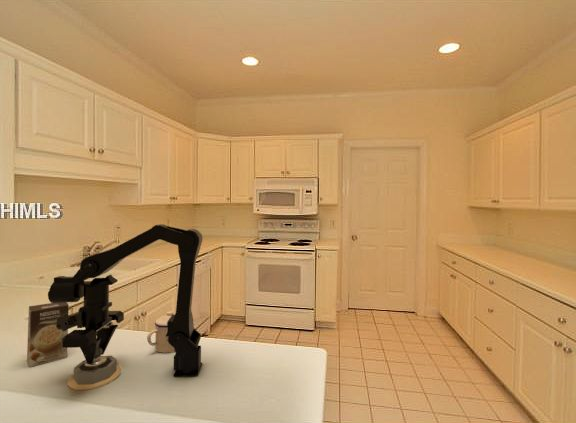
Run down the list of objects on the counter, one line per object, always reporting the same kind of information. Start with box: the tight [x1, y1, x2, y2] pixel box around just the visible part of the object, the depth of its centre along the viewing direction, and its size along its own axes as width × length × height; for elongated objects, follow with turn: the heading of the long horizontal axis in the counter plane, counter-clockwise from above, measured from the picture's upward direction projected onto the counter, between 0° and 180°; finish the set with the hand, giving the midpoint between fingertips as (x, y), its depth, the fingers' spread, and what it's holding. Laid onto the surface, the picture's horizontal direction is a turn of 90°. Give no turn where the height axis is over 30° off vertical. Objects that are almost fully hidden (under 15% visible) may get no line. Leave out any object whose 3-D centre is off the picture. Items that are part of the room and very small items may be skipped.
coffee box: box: [26, 302, 69, 368], centre depth 89 cm, size 9×6×16 cm
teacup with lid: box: [146, 310, 175, 354], centre depth 97 cm, size 12×9×12 cm
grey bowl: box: [67, 355, 122, 391], centre depth 80 cm, size 12×12×4 cm
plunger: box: [85, 346, 107, 371], centre depth 80 cm, size 5×5×7 cm
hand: (95, 359), depth 80 cm, fingers open, 5 cm apart
